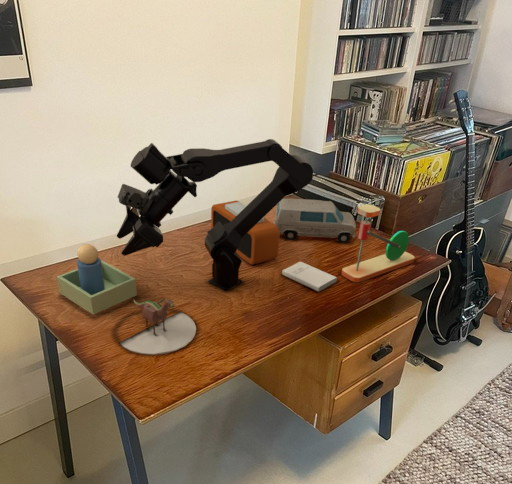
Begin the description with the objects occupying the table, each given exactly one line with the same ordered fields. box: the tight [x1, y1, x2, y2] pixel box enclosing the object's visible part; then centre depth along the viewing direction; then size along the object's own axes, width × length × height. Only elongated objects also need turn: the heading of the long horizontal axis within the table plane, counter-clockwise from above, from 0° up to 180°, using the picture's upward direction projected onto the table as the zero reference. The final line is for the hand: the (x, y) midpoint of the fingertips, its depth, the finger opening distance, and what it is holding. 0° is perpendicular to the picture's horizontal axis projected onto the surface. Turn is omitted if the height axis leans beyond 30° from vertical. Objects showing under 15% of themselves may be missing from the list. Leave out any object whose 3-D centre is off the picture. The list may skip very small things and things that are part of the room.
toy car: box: [273, 198, 357, 244], centre depth 162 cm, size 11×25×10 cm, turn 89°
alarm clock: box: [210, 200, 280, 265], centre depth 152 cm, size 24×8×11 cm, turn 33°
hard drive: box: [281, 261, 338, 293], centre depth 142 cm, size 2×8×12 cm
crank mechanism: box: [340, 203, 416, 283], centre depth 144 cm, size 25×7×19 cm, turn 126°
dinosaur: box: [118, 298, 197, 356], centre depth 115 cm, size 18×18×11 cm
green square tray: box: [56, 259, 138, 315], centre depth 127 cm, size 14×13×6 cm
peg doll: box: [76, 243, 105, 295], centre depth 124 cm, size 5×5×13 cm
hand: (120, 245), depth 123 cm, fingers open, 9 cm apart
